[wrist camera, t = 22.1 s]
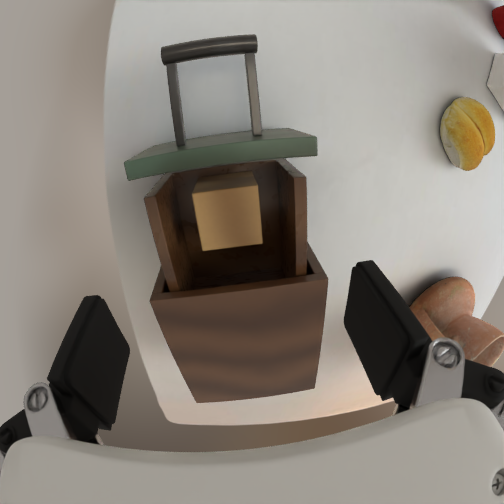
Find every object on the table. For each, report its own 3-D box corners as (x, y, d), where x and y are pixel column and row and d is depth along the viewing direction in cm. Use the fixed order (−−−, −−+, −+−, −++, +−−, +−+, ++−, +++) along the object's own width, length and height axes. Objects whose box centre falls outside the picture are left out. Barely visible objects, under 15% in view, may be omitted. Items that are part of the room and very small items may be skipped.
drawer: (142, 66, 17) (108, 51, 10) (282, 48, 17) (307, 23, 11) (183, 279, 27) (173, 331, 21) (294, 265, 28) (314, 313, 21)
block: (205, 226, 23) (202, 251, 20) (197, 177, 21) (191, 193, 17) (256, 220, 24) (263, 244, 20) (251, 170, 21) (258, 184, 18)
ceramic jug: (473, 288, 35) (519, 341, 23) (421, 347, 41) (455, 405, 28) (431, 244, 29) (502, 314, 17) (364, 325, 35) (406, 408, 23)
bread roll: (487, 140, 22) (508, 147, 19) (452, 176, 25) (474, 187, 21) (466, 84, 19) (490, 87, 15) (428, 117, 21) (452, 122, 18)
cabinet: (169, 241, 26) (149, 300, 18) (297, 224, 26) (328, 278, 18) (199, 342, 33) (196, 403, 25) (297, 330, 34) (314, 388, 26)
